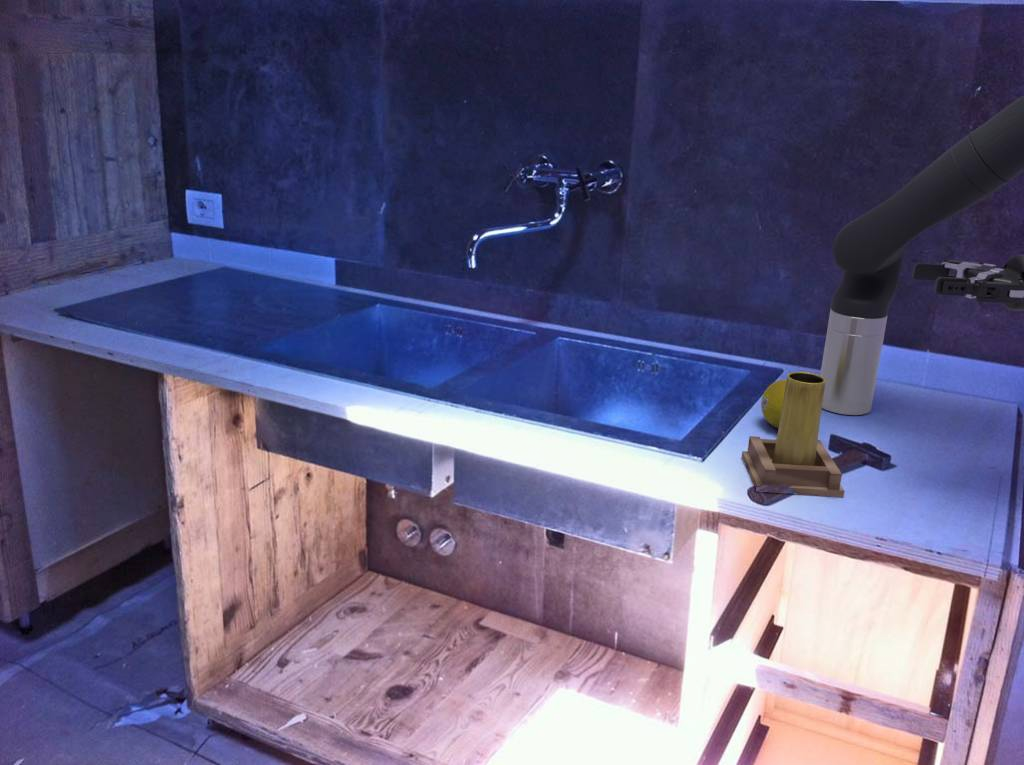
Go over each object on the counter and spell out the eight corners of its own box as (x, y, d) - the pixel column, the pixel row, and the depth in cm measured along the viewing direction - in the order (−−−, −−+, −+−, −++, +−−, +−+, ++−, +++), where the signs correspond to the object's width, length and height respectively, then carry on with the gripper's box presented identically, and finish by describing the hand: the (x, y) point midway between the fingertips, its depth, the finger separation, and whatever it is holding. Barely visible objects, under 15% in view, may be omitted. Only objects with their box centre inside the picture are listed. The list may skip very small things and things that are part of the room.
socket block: (741, 457, 142) (744, 435, 141) (821, 461, 142) (825, 440, 140) (756, 492, 131) (759, 469, 130) (843, 497, 130) (847, 474, 129)
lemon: (755, 414, 160) (761, 370, 157) (802, 418, 159) (809, 373, 156) (762, 438, 149) (768, 391, 147) (812, 443, 148) (819, 396, 146)
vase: (812, 482, 132) (827, 387, 127) (768, 474, 134) (781, 380, 129) (815, 466, 138) (830, 374, 133) (773, 458, 140) (786, 367, 135)
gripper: (1028, 246, 131) (911, 240, 132) (1080, 268, 118) (949, 261, 119) (1016, 298, 134) (901, 292, 134) (1066, 325, 120) (938, 319, 121)
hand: (924, 278), depth 126 cm, fingers open, 8 cm apart
